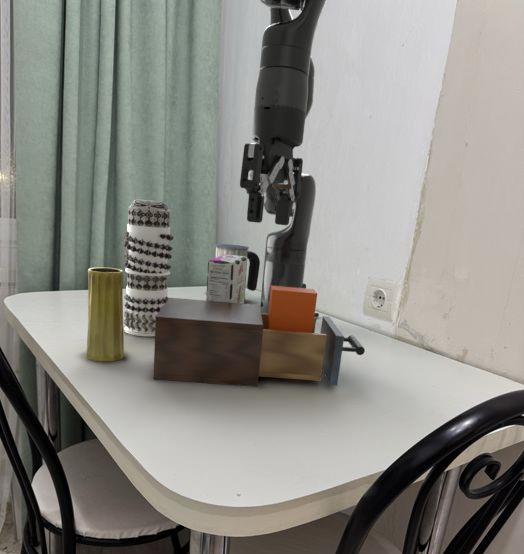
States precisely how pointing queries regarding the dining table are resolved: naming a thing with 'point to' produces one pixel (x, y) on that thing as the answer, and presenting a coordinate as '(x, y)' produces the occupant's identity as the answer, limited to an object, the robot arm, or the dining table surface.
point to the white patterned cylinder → (146, 265)
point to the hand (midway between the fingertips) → (268, 223)
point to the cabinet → (208, 342)
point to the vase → (105, 315)
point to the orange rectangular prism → (291, 309)
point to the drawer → (304, 352)
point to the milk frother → (253, 258)
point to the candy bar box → (227, 279)
